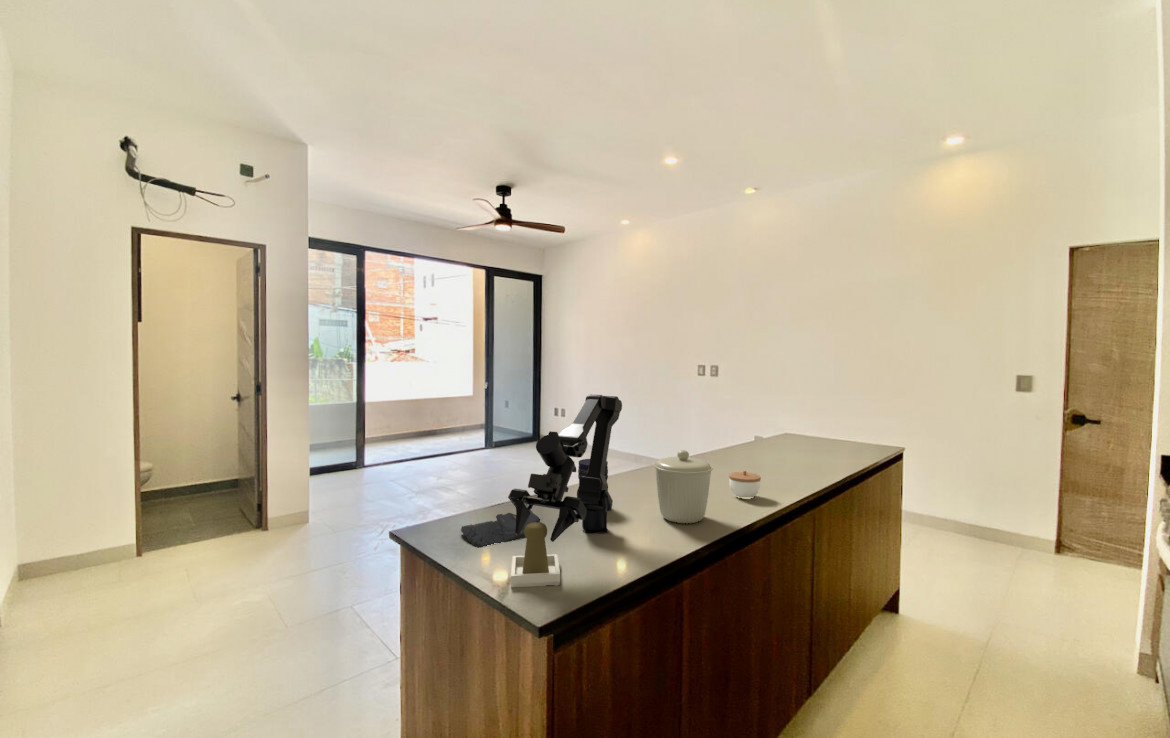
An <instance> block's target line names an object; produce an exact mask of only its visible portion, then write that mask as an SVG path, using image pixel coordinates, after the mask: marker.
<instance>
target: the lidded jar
mask: <svg viewBox="0 0 1170 738" xmlns="http://www.w3.org/2000/svg"><path fill="white" fill-rule="evenodd" d="M728 479H729V481H728V482H729V488H730V491H731V493H732V495H734V496H735V495H736V496H739V497H753V498H754V496H755V497H756V496H757V495H758V494H759V491H760V488H761V476H760V475H759V474H756V473H753V472H747V470H743V471H735V472H731V473H729V475H728Z"/></svg>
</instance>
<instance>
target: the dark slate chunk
mask: <svg viewBox="0 0 1170 738" xmlns="http://www.w3.org/2000/svg"><path fill="white" fill-rule="evenodd" d="M529 511H530V512H531V514H530V515H529V517H528V519H527V521H526V523H525V525H524V527H523V529H522V530H521V532H520V533H519V535H516V533H515V529H516V513H511V512H507V513H504V514H503V513H500V514H497V515H496V516H495V518H496V520H494V521H493V520H489V521H485V522H484V521H483V522H478V523H475V524H469V525H468V524H466V525H463V526H461V529H460V532H461V533H462V534H463V536H464V537H465V538H466V539H467V541H468V542H470V544H472V546H474V545H475V547H476V546H478V547H477V548H479V547H480V548H484V547H483V546H485V547H488V546H487V545H490V546H492V545H491V544H493V545H495V544H494V543H499V544H502V543H501V542H504V543H508V541H509V542H513V541H516V539H518V540H521V539H520V538H522V539H525V534H524V530H525V527H526V525H527V524H529V523H532V522H541V518H540V517H539V516H538V515H536V514H535V513H533V511H532V509H530V510H529ZM512 540H513V541H512Z"/></svg>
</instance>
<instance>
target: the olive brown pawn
mask: <svg viewBox="0 0 1170 738" xmlns="http://www.w3.org/2000/svg"><path fill="white" fill-rule="evenodd" d="M524 534H525V537H526V543H525V549H524V550H525V551H524V552H525V553H524V555H523V556H524V564H523V572H522V573H523V574H532V573H549V568H548V560H547V555H548V553H547V545H546V537H547V535H548V528H547V526H546V524H545V523H543V522H541V521H540V522H532V523H529V524H527V525H526V527H525V530H524Z"/></svg>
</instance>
